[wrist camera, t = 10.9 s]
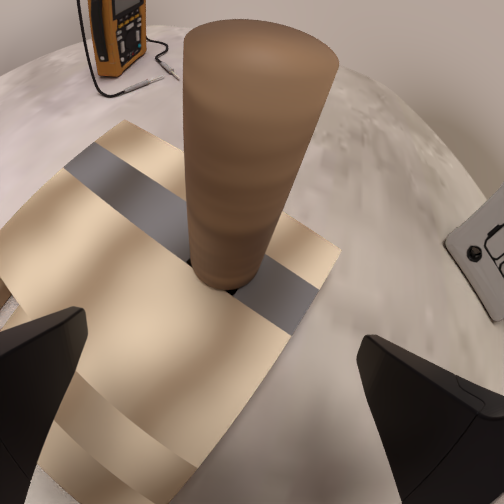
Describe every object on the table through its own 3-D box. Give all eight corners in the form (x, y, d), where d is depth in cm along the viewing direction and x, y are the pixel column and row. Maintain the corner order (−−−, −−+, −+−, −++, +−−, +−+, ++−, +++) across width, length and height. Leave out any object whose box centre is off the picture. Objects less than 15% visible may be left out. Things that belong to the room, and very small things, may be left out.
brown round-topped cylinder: (263, 288, 18) (369, 74, 6) (211, 317, 17) (234, 93, 4) (232, 241, 19) (278, 17, 7) (181, 266, 18) (161, 29, 6)
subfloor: (326, 267, 19) (341, 250, 17) (141, 524, 10) (133, 541, 8) (129, 142, 22) (124, 119, 20) (-40, 324, 13) (-61, 314, 11)
